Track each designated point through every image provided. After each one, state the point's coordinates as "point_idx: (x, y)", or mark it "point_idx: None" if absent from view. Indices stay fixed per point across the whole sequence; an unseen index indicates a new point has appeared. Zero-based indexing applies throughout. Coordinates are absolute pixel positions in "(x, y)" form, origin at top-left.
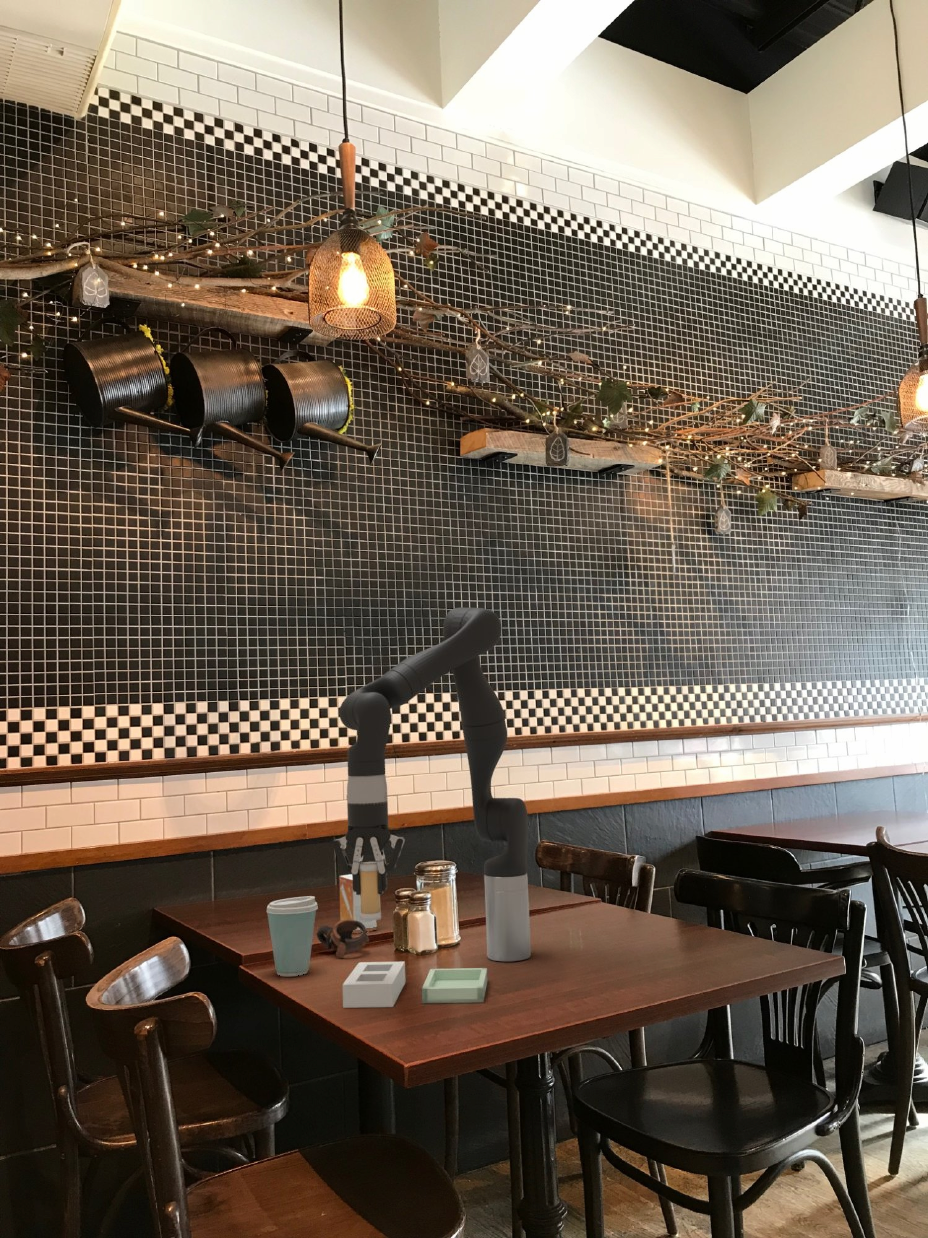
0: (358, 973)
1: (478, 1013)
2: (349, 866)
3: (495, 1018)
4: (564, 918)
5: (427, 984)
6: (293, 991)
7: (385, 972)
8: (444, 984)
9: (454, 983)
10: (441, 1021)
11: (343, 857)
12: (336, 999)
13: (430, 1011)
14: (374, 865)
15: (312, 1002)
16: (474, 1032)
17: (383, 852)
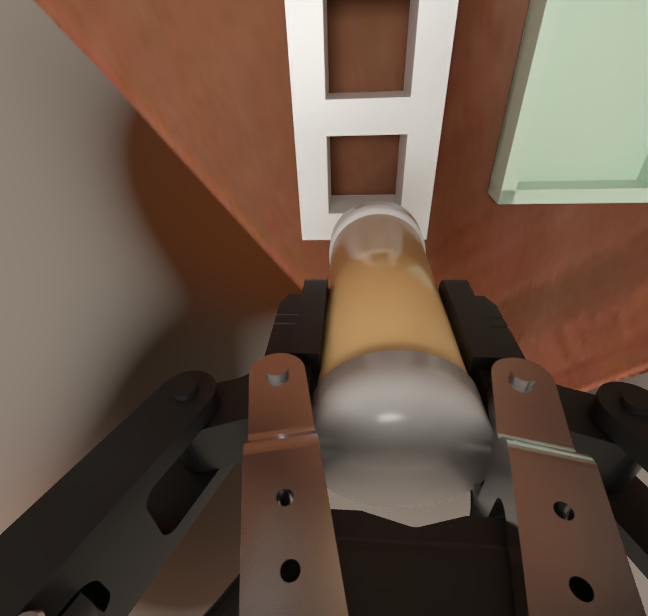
0: (317, 127)
1: (599, 265)
2: (234, 456)
3: (622, 295)
4: None
5: (519, 162)
6: (120, 57)
7: (400, 118)
8: (580, 27)
9: (617, 14)
10: (513, 305)
11: (168, 549)
12: (271, 147)
13: (499, 248)
14: (447, 493)
15: (222, 172)
16: (559, 355)
17: (604, 523)
